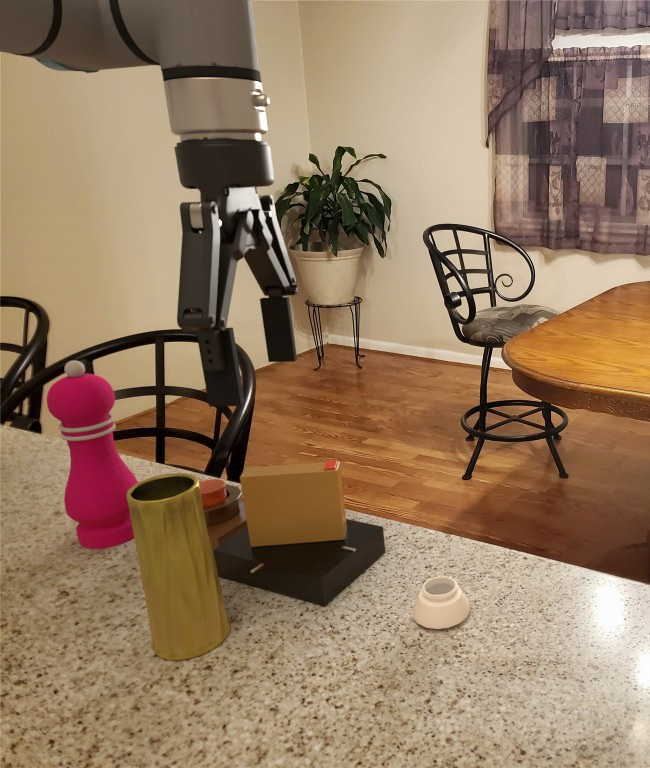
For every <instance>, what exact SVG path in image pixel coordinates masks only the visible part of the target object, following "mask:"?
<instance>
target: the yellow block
mask: <svg viewBox="0 0 650 768" xmlns="http://www.w3.org/2000/svg"><path fill="white" fill-rule="evenodd" d="M239 481H240V487H241V491H242V496H243V500H244V507H245V513H246V519H247V526H248V532H249V538H250V545H251V547H257V546H270V545H282V544H295V543H308V542H321V541H333V540H345V536H346V531H347V523H346V519H347V516H346V507H345V497H344V496H345V495H344V488H343V478H342V469H341V461H338V459H328V460H326V461H325V462H323V461H322V462H310V463H309V462H308V463H294V464H280V465H279V464H278V465H265V466H250V467H249V466H248V467H245V468H244V469H243V471H242V473H241V475H239Z"/></svg>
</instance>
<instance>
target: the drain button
mask: <svg viewBox="0 0 650 768" xmlns="http://www.w3.org/2000/svg"><path fill="white" fill-rule="evenodd" d="M199 484H200V489H201V498H202V505H203V507H204V506H211V505H214V504H218V503H221V502H222V501H224V500H226V499H227V492H226V486H225V484H226V482H225V481H224V480H223V479H216V478H213V479H205V480H201V481H199Z"/></svg>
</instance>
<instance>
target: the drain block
mask: <svg viewBox="0 0 650 768" xmlns="http://www.w3.org/2000/svg"><path fill="white" fill-rule="evenodd" d="M225 486H226V492H227V499H226V500H224V501H222V502H221V503H218V504H214V505H211V506H204V507H203V510H204V515H205V520H206V526H207V532H208V536H209V539H210V543H211V546H212V549H213V550H214V549H216V548H218V547H219V546H221V545H222V544H224V543H225V542H227V541H228V540H230V539H232V538H233V537H235V536H236V535H238V534H239V533H241V532H242V531H244V530H246V529H247V528H248V526H247V519H246V513H245V507H244V500H243V494H242V489H240V488H239V487H238V486H237V485H231V484H227V483H225Z"/></svg>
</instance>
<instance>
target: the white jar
mask: <svg viewBox="0 0 650 768" xmlns="http://www.w3.org/2000/svg"><path fill="white" fill-rule="evenodd" d="M470 611H471V606H470V601H469V599H468V597H467V596H466V594H465V592H464V591H463V590H462V588H461V587H460V586H459V584H458V582H457V581H456V580H455V579H454V578H452V577H449V576H443V575H441V576H439V575H438V576H434V577H430V578H429V579H427V580H426V581H425V582H424V583H423V584H422V587H421V589H420V591H419V593H418V595H417V597H416V598H415V601H414V602H413V605H412V618H413V619H414V621H415V622H416V624H418V625H420V626H422V627H424V628H428V629H434V630H442V629H449V628H452V627H454V626H456V625H459V624H461V623H462V622H463V621H464V620H466V619H467V617H468V616H469V615H470V614H469V613H470Z"/></svg>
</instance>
